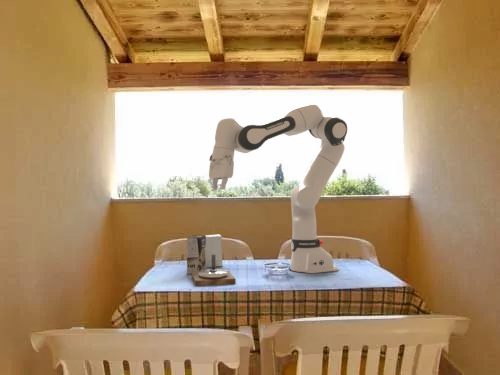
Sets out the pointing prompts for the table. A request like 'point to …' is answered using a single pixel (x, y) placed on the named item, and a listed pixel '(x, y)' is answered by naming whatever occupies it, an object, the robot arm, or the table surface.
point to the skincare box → (213, 249)
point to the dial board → (213, 280)
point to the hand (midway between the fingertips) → (218, 189)
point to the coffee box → (196, 254)
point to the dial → (213, 271)
